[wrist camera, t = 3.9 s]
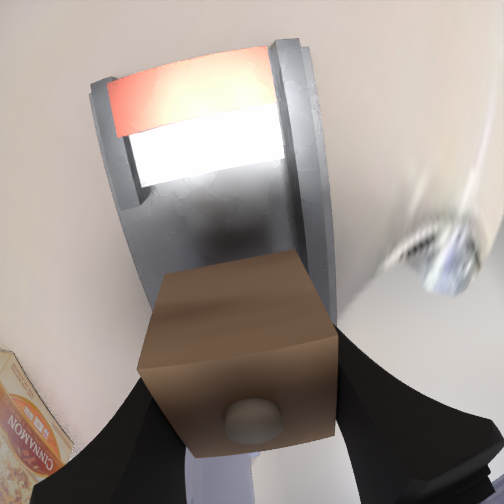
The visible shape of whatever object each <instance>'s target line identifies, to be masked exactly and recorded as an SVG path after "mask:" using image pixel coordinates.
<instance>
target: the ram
mask: <svg viewBox="0 0 504 504" xmlns="http://www.w3.org/2000/svg"><path fill="white" fill-rule="evenodd" d="M107 88H108V93H109V99H110V104H111V109H112V114H113V119H114V124H115V128H116V133H117V137H118V138H120V137H124V136H129V137H130V142H131V146H132V150H133V154H134V159H135V163H136V167H137V171H138V175H139V179H140V183H141V186H142V187H146V186H150V185H154V184H158V183H162V182H166V181H170V180H174V179H179V178H183V177H187V176H192V175H196V174H201V173H206V172H211V171H215V170H220V169H225V168H230V167H236V166H241V165H246V164H252V163H257V162H263V161H269V160H275V159H281V158H284V151H283V145H282V138H281V132H280V126H279V120H278V114H277V108H276V103H277V102H276V96H275V91H274V85H273V79H272V74H271V69H270V63H269V58H268V53H267V48H266V46H265V47H257V48H249V49H242V50H235V51H229V52H223V53H217V54H212V55H207V56H202V57H197V58H193V59H188V60H184V61H180V62H175V63H172V64H168V65H164V66H160V67H156V68H153V69H149V70H146V71H143V72H139V73H136V74H133V75H130V76H127V77H124V78H121V79H118V80H115V81H112V82H109V83H107Z"/></svg>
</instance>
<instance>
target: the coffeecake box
mask: <svg viewBox="0 0 504 504" xmlns="http://www.w3.org/2000/svg"><path fill="white" fill-rule="evenodd" d="M72 446H73V443H72V442H71V440H70V439H69V438H68V437H67V435H66V434H65V433H64V432H63V430H62V429H61V428H60V426H59V425H58V424H57V422H56V421H55V420H54V418H53V417H52V415H51V414H50V413H49V411H48V410H47V408H46V407H45V405H44V404H43V402H42V401H41V399H40V398H39V396H38V395H37V393H36V392H35V390H34V388H33V387H32V385H31V383H30V382H29V380H28V378H27V377H26V375H25V373H24V372H23V370H22V368H21V366H20V365H19V363H18V361H17V359H16V357H15V355H14V353H12V352H8V351H2V350H0V504H29V502H30V498H31V494H32V490H33V487H34V485H35V484H37V483H39V482H40V481H42V480H44V479H45V478H47V477H48V476H50V475H52V474H53V473H55V472H56V471H58V470H59V469H60V468H62V467H63V466H64V465H66V464H67V463H68V460H69V456H70V453H71V449H72Z"/></svg>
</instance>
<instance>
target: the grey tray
mask: <svg viewBox="0 0 504 504" xmlns="http://www.w3.org/2000/svg"><path fill="white" fill-rule="evenodd" d="M267 53H268V58H269V63H270V69H271V74H272V79H273V85H274V91H275V96H276V102H277V103H276V108H277V114H278V120H279V126H280V132H281V138H282V145H283V151H284V158H281V159H275V160H269V161H263V162H257V163H252V164H246V165H241V166H236V167H230V168H225V169H220V170H215V171H211V172H206V173H201V174H196V175H192V176H187V177H183V178H179V179H174V180H170V181H166V182H162V183H158V184H154V185H150V186H146V187H142V186H141V183H140V179H139V175H138V171H137V167H136V163H135V159H134V154H133V150H132V146H131V142H130V137H129V136H124V137H120V138H118V137H117V133H116V128H115V124H114V119H113V114H112V109H111V104H110V99H109V93H108V88H107V83H109V82H112V81H115V80H118V79H117V78H114V77H108V78H105V79H103V80H100V81H97V82H95V83H92V84H91V90H92V93H90V94H89V97H90V103H91V108H92V113H93V118H94V123H95V128H96V132H97V137H98V141H99V146H100V150H101V154H102V158H103V162H104V166H105V170H106V174H107V177H108V181H109V185H110V188H111V192H112V195H113V199H114V202H115V206H116V209H117V212H118V216H119V219H120V222H121V225H122V228H123V232H124V235H125V238H126V241H127V244H128V247H129V250H130V252H131V255H132V258H133V261H134V264H135V267H136V269H137V272H138V275H139V278H140V280H141V283H142V286H143V288H144V291H145V293H146V296H147V298H148V301H149V304H150V306H151V308H152V311H153V309H154V306H155V303H156V300H157V296H158V293H159V290H160V287H161V284H162V281H163V278H164V275H165V274H168V273H173V272H178V271H184V270H189V269H194V268H199V267H204V266H210V265H215V264H220V263H225V262H230V261H236V260H241V259H246V258H251V257H256V256H261V255H267V254H272V253H277V252H282V251H287V250H292V249H295V250H296V252H297V254H298V256H299V258H300V260H301V262H302V264H303V266H304V267H305V269H306V271H307V273H308V275H309V277H310V279H311V281H312V283H313V285H314V287H315V289H316V291H317V293H318V295H319V297H320V299H321V301H322V303H323V305H324V307H325V309H326V311H327V313H328V315H329V317H330V319H331V321H332V323H333V324H334V325H335V326H336V327H337V308H336V275H335V254H334V237H333V222H332V209H331V198H330V187H329V177H328V168H327V159H326V150H325V142H324V135H323V127H322V120H321V113H320V106H319V100H318V94H317V88H316V82H315V76H314V70H313V65H312V59H311V54H310V49H309V47H300V42H299V38H297V39H282V40H275V42H274V43H273V44H272V46H271V47H270V49H269V50H267Z"/></svg>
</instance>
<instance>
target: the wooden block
mask: <svg viewBox="0 0 504 504" xmlns="http://www.w3.org/2000/svg"><path fill="white" fill-rule="evenodd" d="M137 371H138V373H139V374H140V376H141V378H142V380H143V381H144V383H145V385H146V386H147V388H148V390H149V391H150V393H151V395H152V396H153V398H154V399H155V401H156V403H157V404H158V406H159V407H160V409H161V410H162V412H163V413H164V415H165V416H166V418H167V419H168V421H169V422H170V424H171V425H172V427H173V428H174V430H175V431H176V433H177V434H178V435H179V437H180V438H181V440H182V441H183V443H184V444H185V445H186V447H187V448H188V449H189V451H190V452H191V453H192V455H193V456H194V457H195V458H207V457H219V456H229V455H238V454H246V453H253V452H260V451H266V450H272V449H278V448H283V447H288V446H293V445H298V444H303V443H307V442H311V441H315V440H320V439H323V438H328V437H331V436H334V435H335V420H336V404H337V379H338V334H337V332H336V330H335V327H334V325H333V323H332V321H331V319H330V317H329V315H328V313H327V311H326V309H325V307H324V305H323V303H322V301H321V299H320V297H319V295H318V293H317V291H316V289H315V287H314V285H313V283H312V281H311V279H310V277H309V275H308V273H307V271H306V269H305V267H304V266H303V264H302V262H301V260H300V258H299V256H298V254H297V252H296V250H295V249H292V250H287V251H282V252H277V253H272V254H267V255H261V256H256V257H251V258H246V259H241V260H236V261H230V262H225V263H220V264H215V265H210V266H204V267H199V268H194V269H189V270H184V271H178V272H173V273H168V274H165V275H164V278H163V281H162V284H161V287H160V290H159V293H158V296H157V300H156V303H155V306H154V309H153V313H152V316H151V319H150V323H149V326H148V330H147V333H146V337H145V340H144V344H143V347H142V351H141V355H140V358H139V362H138V366H137Z"/></svg>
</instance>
